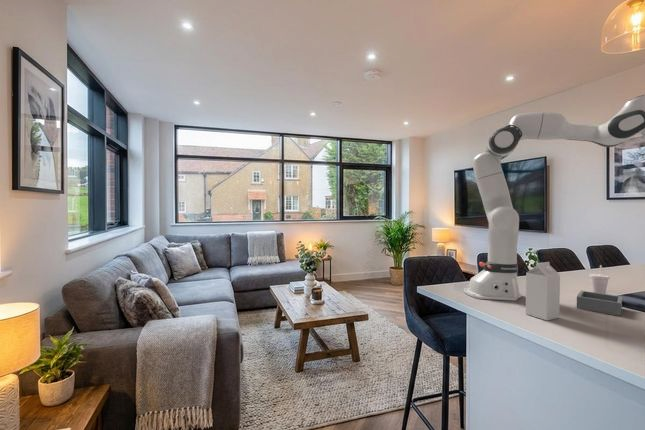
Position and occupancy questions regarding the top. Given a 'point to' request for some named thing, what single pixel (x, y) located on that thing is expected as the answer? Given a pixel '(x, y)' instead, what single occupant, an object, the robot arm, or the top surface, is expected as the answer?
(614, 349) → the top surface
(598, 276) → the smoothie
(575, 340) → the top surface
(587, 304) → the bin
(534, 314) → the milk carton
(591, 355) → the top surface
